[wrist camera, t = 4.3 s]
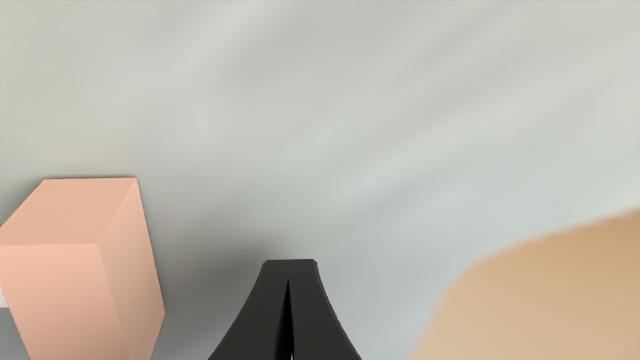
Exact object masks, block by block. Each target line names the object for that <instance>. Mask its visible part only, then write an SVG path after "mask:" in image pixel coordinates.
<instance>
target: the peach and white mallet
mask: <svg viewBox="0 0 640 360" xmlns="http://www.w3.org/2000/svg"><path fill="white" fill-rule="evenodd" d="M3 307H9V309H10V312H11V314H12V316H13V319H14V321H15V324H16V326H17V328H18V331H19V333H20V336H21V338H22V340H23V343H24V345H25V347H26V350H27V352H28V355H29V357H30V359H31V360H150V359H151V356H152V353H153V350H154V347H155V344H156V341H157V338H158V335H159V332H160V329H161V326H162V323H163V320H164V317H165V313H166V312H165V307H164V303H163V298H162V294H161V289H160V284H159V280H158V275H157V270H156V266H155V261H154V256H153V252H152V247H151V242H150V238H149V233H148V229H147V224H146V219H145V215H144V210H143V205H142V201H141V196H140V191H139V187H138V182H137V178H88V179H44V180H43V181H42V182H41V183H40V184H39V186H38V187H37V188H36V189H35V190H34V191H33V192H32V193H31V194H30V195H29V196H28V198H27V199H26V200H25V201H24V202H23V203H22V204H21V205H20V206H19V207H18V209H17V210H16V211H15V212H14V213H13V214H12V215H11V216H10V217H9V218H8V219H7V221H6V222H5V223H4V224H3V225H2V226H1V227H0V308H3Z"/></svg>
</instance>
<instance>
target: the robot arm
mask: <svg viewBox="0 0 640 360" xmlns="http://www.w3.org/2000/svg"><path fill="white" fill-rule="evenodd" d="M291 356H292V358H293V360H362V359H361V357H360V356H359V354H358V353H357V351H356V350H355V348H354V347H353V345H352V343H351V342H350V340H349V338H348V337H347V335H346V333H345V331H344V330H343V328H342V326H341V324H340V322H339V320H338V318H337V316H336V314H335V312H334V310H333V308H332V306H331V304H330V302H329V300H328V297H327V295H326V292H325V290H324V287H323V284H322V282H321V279H320V275H319V271H318V267H317V262H316V261H315V260H313V259H292V260H267V261H265V262H264V263H263V265H262V268H261V271H260V273H259V276H258V278H257V280H256V283H255V285H254V287H253V289H252V291H251V293H250V295H249V297H248V298H247V300H246V302H245V304H244V306H243V307H242V309H241V311H240V313H239V314H238V316H237V318H236V319H235V321H234V322H233V324H232V326H231V327H230V329H229V330H228V332H227V333H226V335H225V336H224V338H223V339H222V341H221V342H220V344H219V345H218V346H217V348H216V349H215V351H214V352H213V353H212V355H211V356H210V357H209V358H208V360H291Z"/></svg>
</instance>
